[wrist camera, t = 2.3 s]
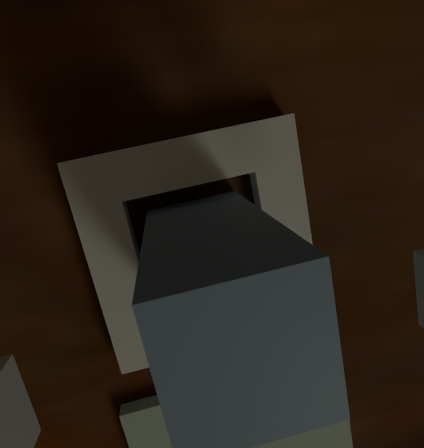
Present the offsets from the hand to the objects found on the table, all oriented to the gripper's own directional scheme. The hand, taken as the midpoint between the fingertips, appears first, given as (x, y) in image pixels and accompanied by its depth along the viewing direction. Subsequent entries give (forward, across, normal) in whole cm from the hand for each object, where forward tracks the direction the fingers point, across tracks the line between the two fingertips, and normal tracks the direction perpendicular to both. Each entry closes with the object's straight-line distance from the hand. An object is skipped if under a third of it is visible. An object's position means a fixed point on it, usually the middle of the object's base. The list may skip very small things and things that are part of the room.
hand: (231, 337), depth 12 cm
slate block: (+10, 0, 0) cm, 10 cm away
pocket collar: (+10, 0, 0) cm, 10 cm away
